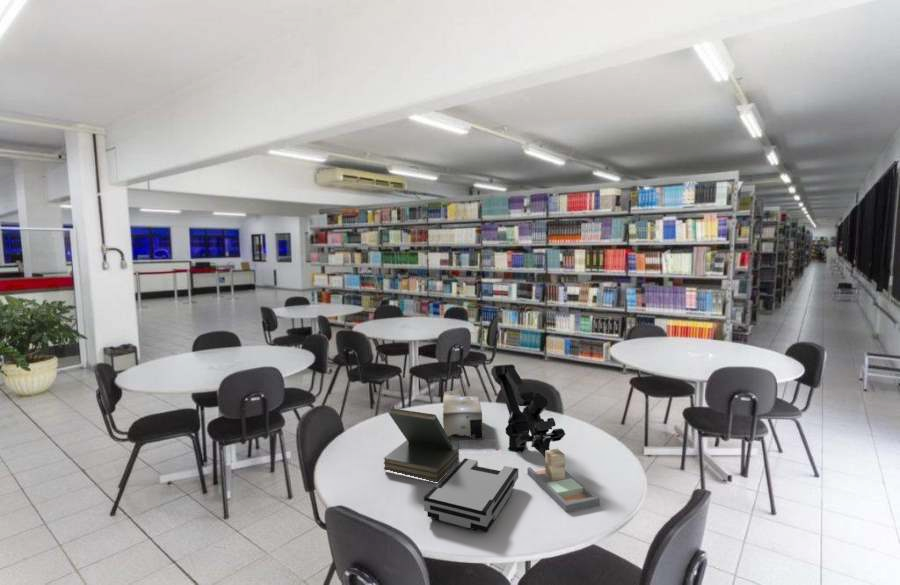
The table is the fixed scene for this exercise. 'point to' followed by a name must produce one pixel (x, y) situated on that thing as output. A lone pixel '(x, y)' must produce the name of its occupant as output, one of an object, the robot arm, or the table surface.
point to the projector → (462, 415)
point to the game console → (471, 495)
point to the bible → (421, 447)
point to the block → (555, 464)
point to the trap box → (565, 491)
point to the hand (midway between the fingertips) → (548, 459)
